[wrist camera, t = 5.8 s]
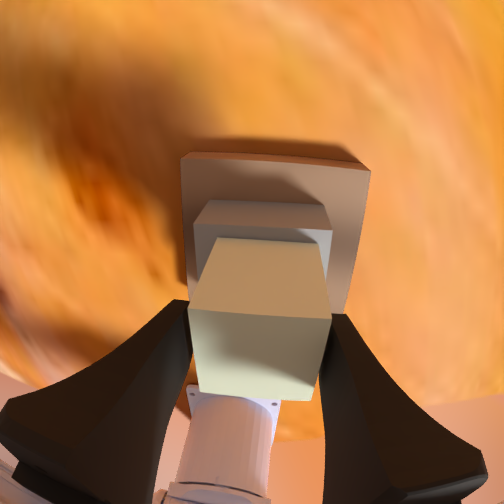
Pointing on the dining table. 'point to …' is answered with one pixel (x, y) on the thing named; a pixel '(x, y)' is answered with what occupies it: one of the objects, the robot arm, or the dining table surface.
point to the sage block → (260, 319)
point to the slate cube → (261, 225)
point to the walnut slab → (281, 200)
